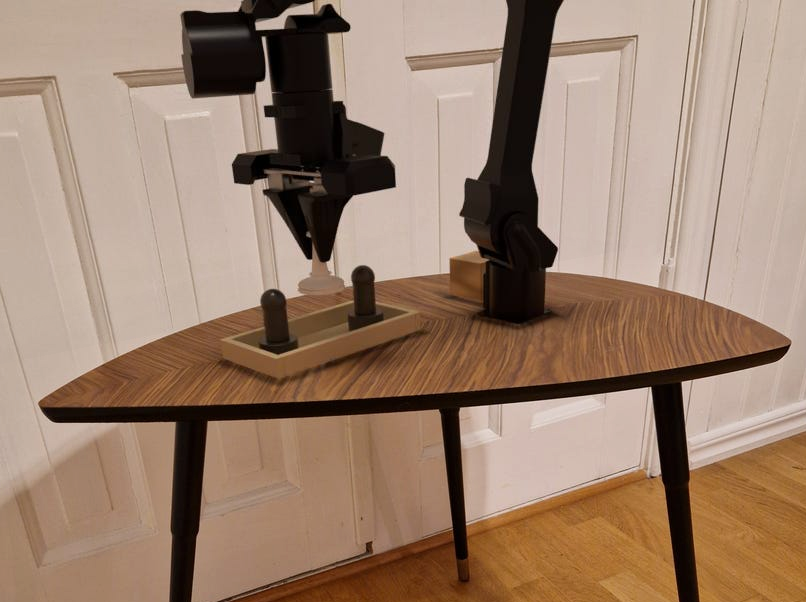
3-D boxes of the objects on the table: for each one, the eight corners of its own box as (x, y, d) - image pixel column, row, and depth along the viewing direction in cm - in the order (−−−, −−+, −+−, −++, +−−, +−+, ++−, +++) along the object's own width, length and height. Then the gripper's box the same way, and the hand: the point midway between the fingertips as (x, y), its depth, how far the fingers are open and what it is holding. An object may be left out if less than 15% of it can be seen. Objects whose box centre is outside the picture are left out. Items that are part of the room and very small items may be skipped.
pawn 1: (307, 356, 83) (300, 287, 79) (276, 367, 80) (267, 296, 77) (283, 348, 85) (276, 281, 82) (252, 358, 83) (243, 290, 80)
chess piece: (341, 295, 82) (332, 191, 77) (293, 296, 82) (282, 193, 77) (348, 282, 86) (341, 183, 81) (303, 283, 86) (293, 185, 82)
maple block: (506, 295, 102) (506, 255, 99) (480, 304, 99) (480, 263, 96) (475, 289, 105) (475, 250, 103) (449, 298, 102) (449, 258, 100)
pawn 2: (391, 328, 90) (388, 264, 87) (365, 337, 88) (360, 271, 84) (367, 322, 93) (363, 259, 89) (341, 330, 90) (335, 266, 87)
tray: (363, 318, 96) (361, 297, 95) (421, 333, 90) (420, 311, 88) (223, 362, 84) (219, 339, 83) (279, 383, 78) (276, 358, 77)
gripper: (434, 84, 74) (439, 256, 81) (307, 87, 86) (321, 236, 93) (342, 92, 67) (356, 279, 75) (218, 94, 79) (241, 255, 87)
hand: (318, 260), depth 82 cm, fingers closed on chess piece
